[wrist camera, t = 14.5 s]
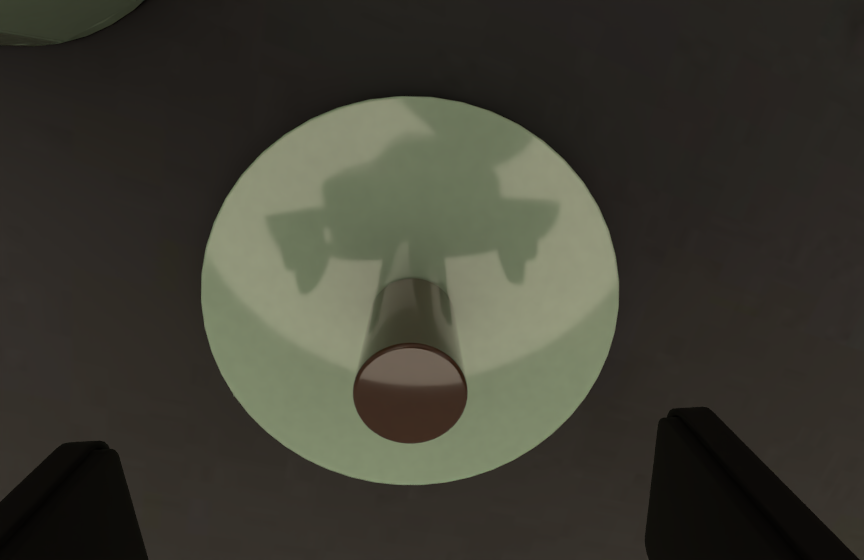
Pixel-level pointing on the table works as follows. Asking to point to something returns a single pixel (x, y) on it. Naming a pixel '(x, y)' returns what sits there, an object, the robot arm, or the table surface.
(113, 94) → the table surface
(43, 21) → the pot
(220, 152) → the table surface
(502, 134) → the lid
